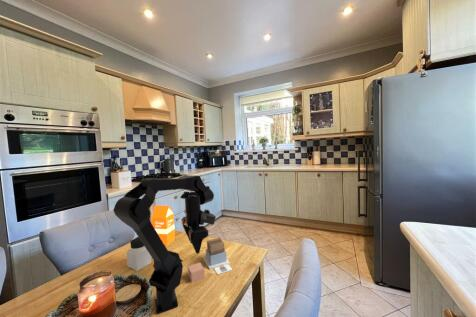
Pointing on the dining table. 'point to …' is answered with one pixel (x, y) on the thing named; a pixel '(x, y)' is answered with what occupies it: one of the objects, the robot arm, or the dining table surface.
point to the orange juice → (164, 223)
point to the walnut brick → (215, 246)
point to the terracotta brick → (196, 272)
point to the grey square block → (215, 260)
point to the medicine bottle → (138, 255)
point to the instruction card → (223, 269)
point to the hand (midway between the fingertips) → (194, 247)
